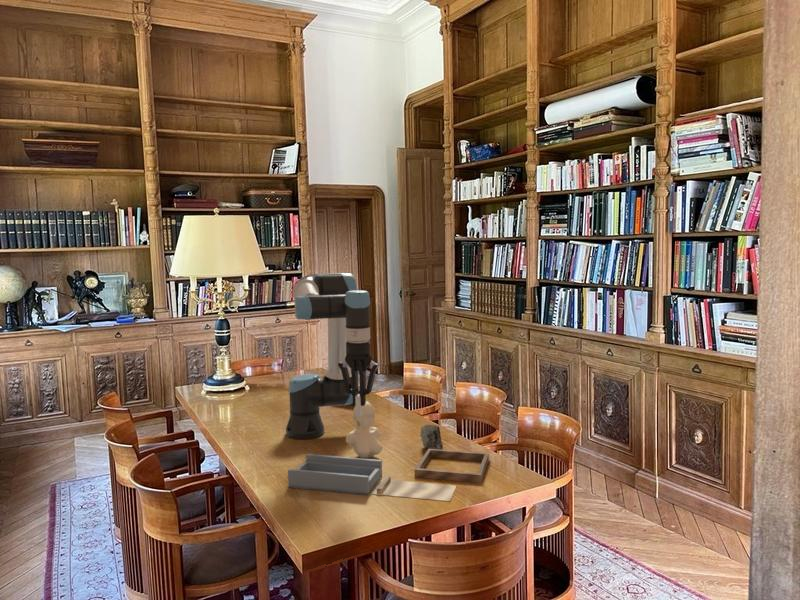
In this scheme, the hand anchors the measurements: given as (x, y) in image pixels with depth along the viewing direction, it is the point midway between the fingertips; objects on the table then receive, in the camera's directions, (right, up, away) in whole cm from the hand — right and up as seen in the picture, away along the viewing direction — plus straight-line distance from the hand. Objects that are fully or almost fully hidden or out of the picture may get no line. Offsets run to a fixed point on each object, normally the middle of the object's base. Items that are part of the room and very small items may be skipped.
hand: (359, 415), depth 193 cm
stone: (+24, -19, +34) cm, 46 cm away
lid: (+17, -23, -3) cm, 29 cm away
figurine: (+1, -20, +26) cm, 33 cm away
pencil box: (-8, -22, +4) cm, 24 cm away
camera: (-10, -13, +101) cm, 102 cm away
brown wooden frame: (+30, -20, +14) cm, 39 cm away
